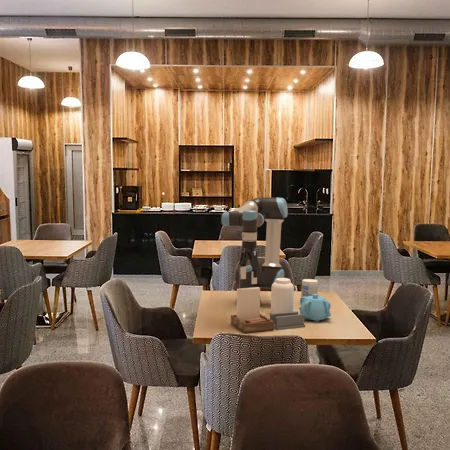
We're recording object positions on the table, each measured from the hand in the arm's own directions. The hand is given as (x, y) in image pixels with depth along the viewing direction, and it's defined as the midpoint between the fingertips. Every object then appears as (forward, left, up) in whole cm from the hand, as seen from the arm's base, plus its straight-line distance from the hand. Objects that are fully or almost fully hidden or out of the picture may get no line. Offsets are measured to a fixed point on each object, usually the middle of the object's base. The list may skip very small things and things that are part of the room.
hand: (248, 281), depth 269 cm
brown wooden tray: (+5, 0, -23) cm, 23 cm away
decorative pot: (+2, +39, -23) cm, 45 cm away
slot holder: (+9, +18, -23) cm, 30 cm away
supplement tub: (-27, +53, -23) cm, 64 cm away
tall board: (0, 0, -22) cm, 22 cm away
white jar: (-13, +27, -23) cm, 38 cm away
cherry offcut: (+8, +1, -20) cm, 22 cm away
